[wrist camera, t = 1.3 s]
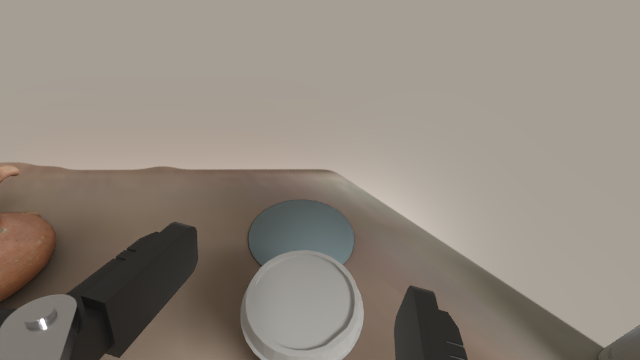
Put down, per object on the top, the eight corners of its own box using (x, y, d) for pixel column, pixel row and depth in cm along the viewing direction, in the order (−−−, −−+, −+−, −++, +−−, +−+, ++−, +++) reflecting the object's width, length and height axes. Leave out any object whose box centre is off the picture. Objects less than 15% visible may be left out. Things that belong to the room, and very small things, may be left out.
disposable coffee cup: (288, 301, 33) (288, 230, 26) (361, 346, 29) (384, 278, 22) (230, 380, 26) (208, 313, 19) (315, 452, 22) (328, 402, 15)
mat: (364, 217, 46) (365, 216, 46) (334, 298, 33) (334, 296, 33) (280, 191, 50) (280, 190, 50) (225, 254, 38) (225, 253, 37)
